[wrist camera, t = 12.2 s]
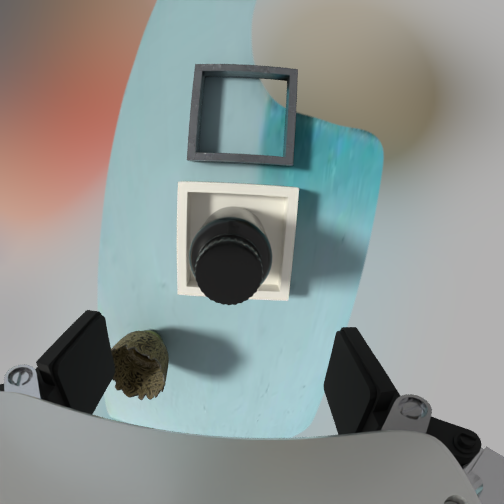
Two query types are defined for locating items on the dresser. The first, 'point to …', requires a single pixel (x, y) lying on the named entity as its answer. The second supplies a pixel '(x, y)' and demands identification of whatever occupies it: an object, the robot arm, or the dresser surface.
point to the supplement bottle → (230, 255)
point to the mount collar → (247, 72)
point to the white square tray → (256, 201)
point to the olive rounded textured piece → (140, 364)
